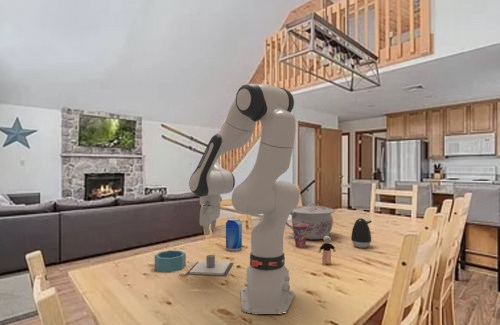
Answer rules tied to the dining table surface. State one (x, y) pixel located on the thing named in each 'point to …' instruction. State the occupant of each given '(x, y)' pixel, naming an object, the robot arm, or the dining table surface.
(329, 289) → the dining table surface
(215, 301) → the dining table surface
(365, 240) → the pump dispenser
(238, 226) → the beer can
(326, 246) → the grandmother figurine
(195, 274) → the mat
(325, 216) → the chamber pot
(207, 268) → the cover board
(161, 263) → the bowl
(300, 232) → the cup
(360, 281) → the dining table surface
